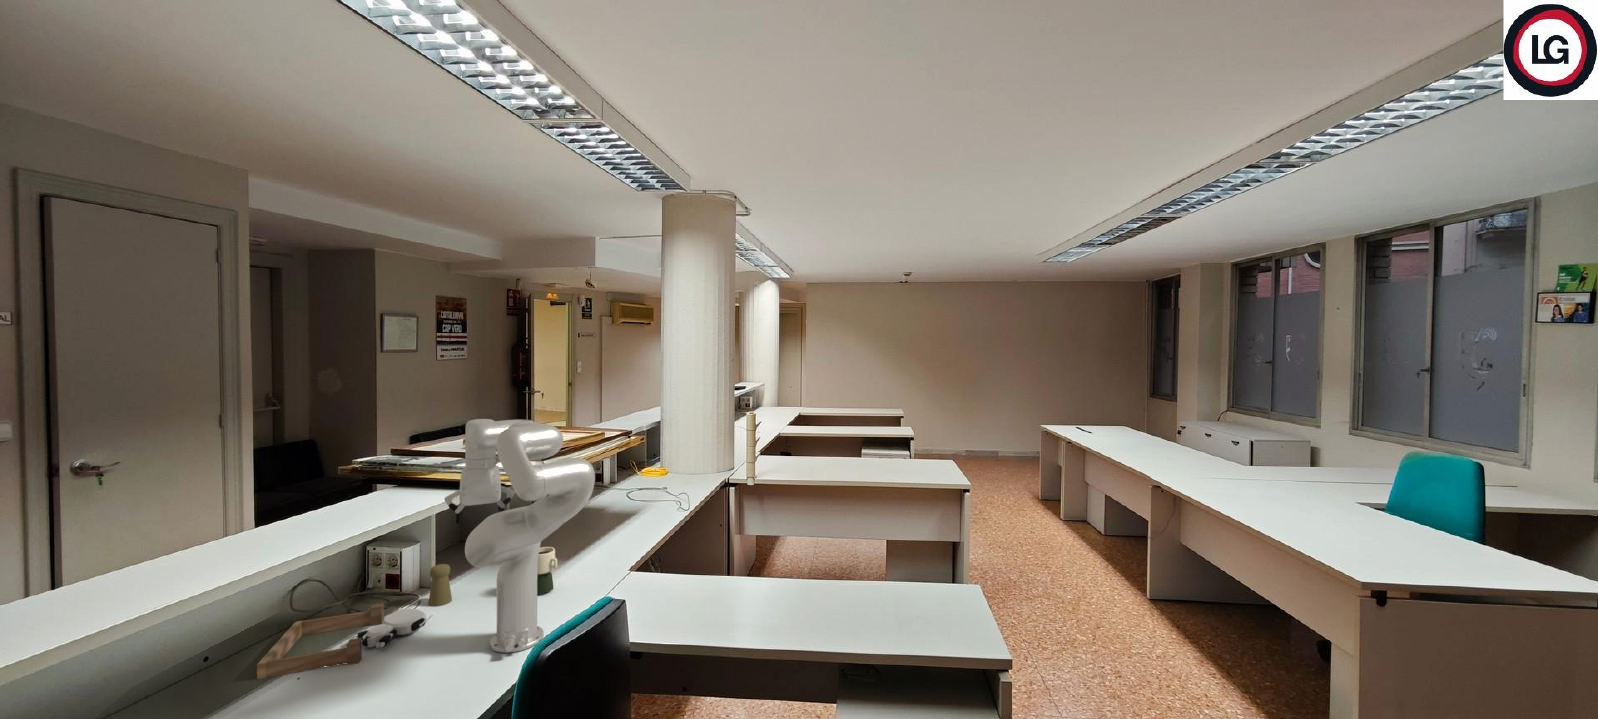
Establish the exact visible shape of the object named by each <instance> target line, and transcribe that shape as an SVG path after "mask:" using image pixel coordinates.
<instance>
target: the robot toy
mask: <svg viewBox="0 0 1598 719" xmlns="http://www.w3.org/2000/svg"><path fill="white" fill-rule="evenodd" d="M432 617H434V613H432V614H431V615H430V616H428V617H427V614H426V613H425V612H424V611H422V610H420V609H416V608H415V609H414V608H403V609H402V607H399V608H398V609H397V610H396V611H394V612H392V613H390V614H388V615H387V616H386V615H385V616H384V619H383V620H382V624H379V625H375V626H374V627H372V628H370V629H368V630H363V631H360V632H358V633H357V635H353V636H350V638H349V640H351V639H357V638H362V647H366V648H374V647H375V648H377V649H378V648H384V647H386V646H388V644H390V642H391V639H392V638H393V637H395V636H396V635H398V636H400V635H401V636H402V635H403V636H405V635H410V634H414V633H416V632H418V631H419V629H421V628H423V627H424V626H425V625H426V624H427V622H428V620H429V619H431V618H432Z"/></svg>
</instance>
